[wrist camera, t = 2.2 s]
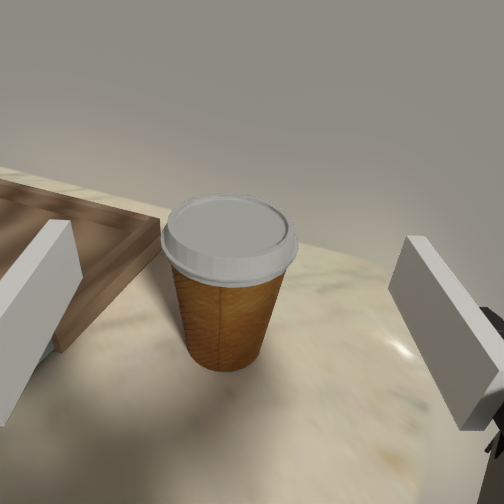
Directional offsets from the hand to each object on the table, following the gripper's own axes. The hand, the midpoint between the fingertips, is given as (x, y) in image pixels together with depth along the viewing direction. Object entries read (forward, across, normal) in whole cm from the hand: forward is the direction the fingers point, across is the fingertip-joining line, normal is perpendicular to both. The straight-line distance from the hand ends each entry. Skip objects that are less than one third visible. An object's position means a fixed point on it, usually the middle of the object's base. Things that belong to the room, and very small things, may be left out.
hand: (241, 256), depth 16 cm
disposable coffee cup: (+10, 0, -16) cm, 19 cm away
